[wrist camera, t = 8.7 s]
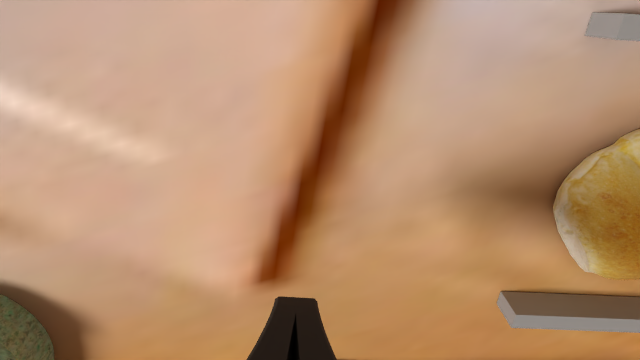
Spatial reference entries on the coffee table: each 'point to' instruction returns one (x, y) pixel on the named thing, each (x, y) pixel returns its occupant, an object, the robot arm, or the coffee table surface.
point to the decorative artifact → (22, 334)
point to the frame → (574, 307)
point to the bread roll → (604, 210)
